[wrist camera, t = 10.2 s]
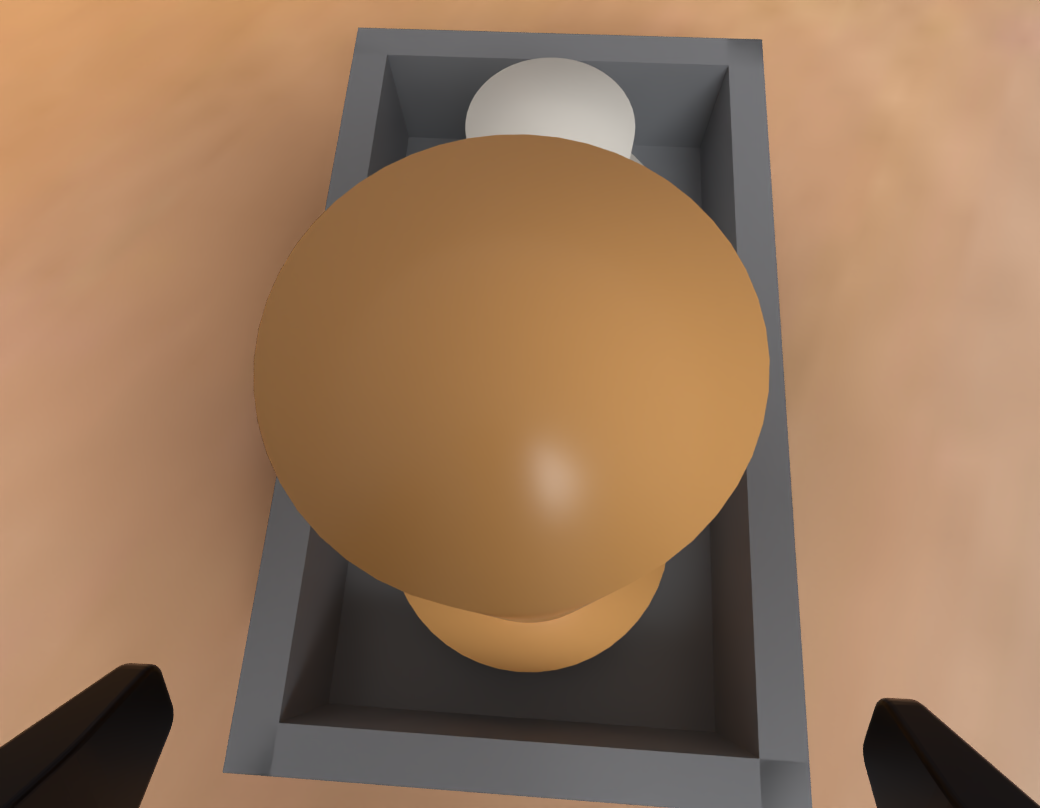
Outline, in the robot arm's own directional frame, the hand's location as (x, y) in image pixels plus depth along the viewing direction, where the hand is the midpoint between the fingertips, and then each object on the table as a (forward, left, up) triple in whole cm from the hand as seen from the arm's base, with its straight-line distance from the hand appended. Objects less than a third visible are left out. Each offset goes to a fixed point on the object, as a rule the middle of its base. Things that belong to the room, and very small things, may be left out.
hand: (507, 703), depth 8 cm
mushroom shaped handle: (+3, -1, -10) cm, 10 cm away
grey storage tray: (+7, -2, -11) cm, 13 cm away
